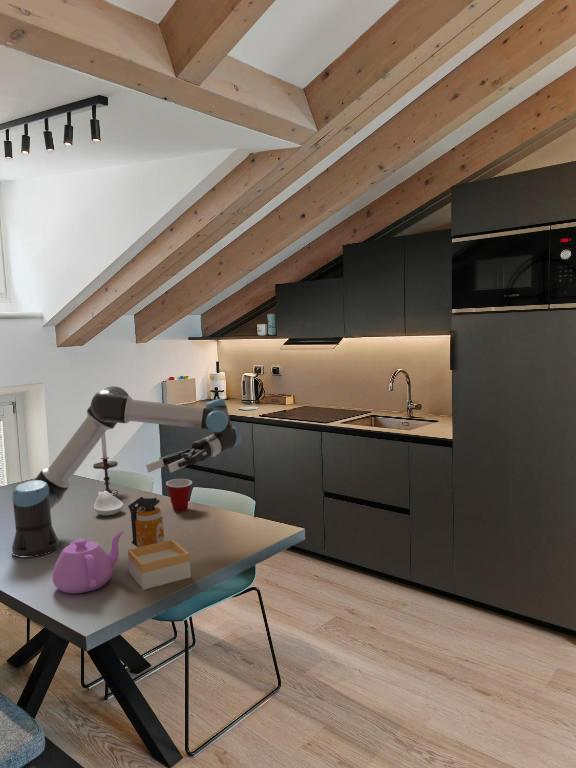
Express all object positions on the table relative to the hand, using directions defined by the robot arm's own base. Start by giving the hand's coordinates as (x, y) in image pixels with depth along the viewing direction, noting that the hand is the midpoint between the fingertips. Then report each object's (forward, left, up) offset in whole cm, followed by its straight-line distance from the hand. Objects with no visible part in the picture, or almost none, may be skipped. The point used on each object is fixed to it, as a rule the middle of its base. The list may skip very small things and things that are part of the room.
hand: (158, 468), depth 206 cm
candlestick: (+1, +84, -28) cm, 88 cm away
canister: (-7, -5, -28) cm, 29 cm away
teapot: (-28, -16, -28) cm, 42 cm away
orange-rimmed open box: (-9, -23, -28) cm, 37 cm away
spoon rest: (-6, +58, -28) cm, 65 cm away
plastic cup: (+20, +38, -28) cm, 51 cm away
